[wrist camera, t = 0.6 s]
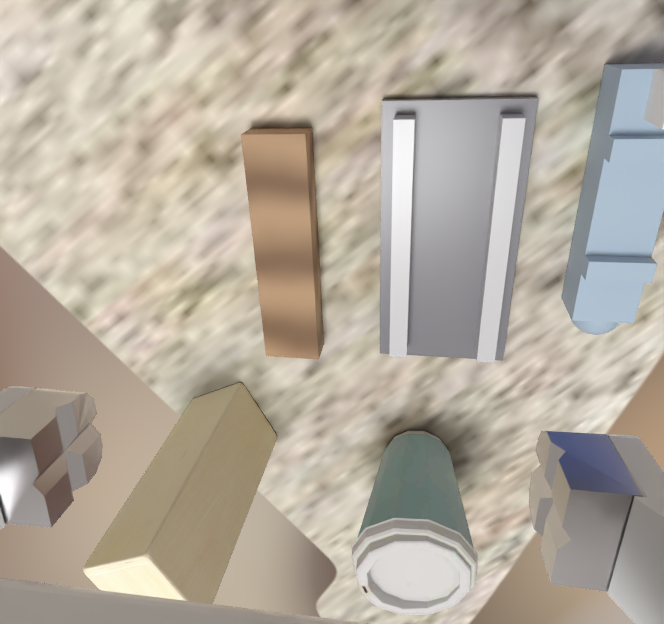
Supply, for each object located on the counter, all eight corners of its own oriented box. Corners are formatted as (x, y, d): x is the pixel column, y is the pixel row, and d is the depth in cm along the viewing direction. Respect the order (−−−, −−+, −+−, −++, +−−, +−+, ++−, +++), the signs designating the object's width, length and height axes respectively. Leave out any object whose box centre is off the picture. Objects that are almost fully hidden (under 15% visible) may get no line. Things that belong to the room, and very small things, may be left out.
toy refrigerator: (184, 399, 58) (72, 572, 40) (240, 379, 56) (148, 555, 38) (223, 452, 61) (135, 637, 43) (278, 436, 59) (209, 624, 41)
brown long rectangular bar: (252, 127, 44) (241, 134, 41) (313, 126, 43) (305, 134, 40) (274, 339, 53) (266, 355, 51) (324, 342, 52) (318, 359, 50)
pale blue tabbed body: (604, 64, 37) (640, 74, 31) (675, 62, 37) (727, 72, 30) (557, 318, 47) (577, 366, 40) (613, 320, 46) (642, 370, 40)
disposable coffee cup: (454, 405, 53) (461, 531, 40) (482, 484, 57) (496, 621, 44) (353, 424, 56) (329, 547, 43) (386, 498, 61) (373, 630, 48)
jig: (382, 99, 41) (379, 104, 38) (536, 96, 39) (543, 102, 36) (380, 347, 51) (377, 365, 49) (501, 354, 49) (505, 373, 47)
